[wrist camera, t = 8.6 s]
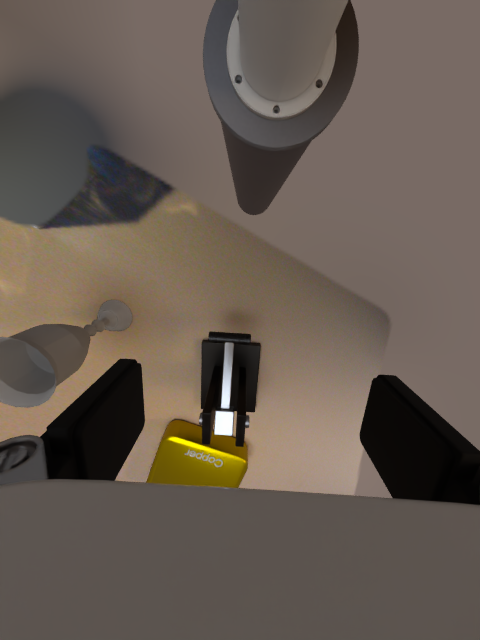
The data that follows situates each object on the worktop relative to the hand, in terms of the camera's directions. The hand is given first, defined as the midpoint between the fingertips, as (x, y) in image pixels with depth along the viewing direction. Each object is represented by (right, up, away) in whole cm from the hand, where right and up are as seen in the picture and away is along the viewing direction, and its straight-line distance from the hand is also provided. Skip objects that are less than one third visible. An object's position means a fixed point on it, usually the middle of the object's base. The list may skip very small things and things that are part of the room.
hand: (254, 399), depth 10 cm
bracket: (-2, -6, +31) cm, 32 cm away
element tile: (-8, -23, +37) cm, 44 cm away
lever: (-2, -5, +23) cm, 23 cm away
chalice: (-20, +4, +29) cm, 35 cm away
